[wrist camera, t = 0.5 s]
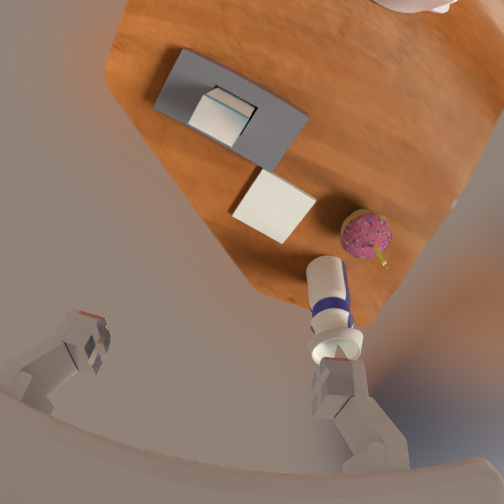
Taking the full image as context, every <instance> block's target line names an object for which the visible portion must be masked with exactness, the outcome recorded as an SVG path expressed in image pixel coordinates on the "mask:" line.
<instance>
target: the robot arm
mask: <svg viewBox="0 0 504 504" xmlns="http://www.w3.org/2000/svg"><path fill="white" fill-rule="evenodd" d="M373 1H375V2H376V3H378V4H379V5H381V6H383V7H385V8H388V9H390V10H393V11H397V12H402V13H415V12H420V11H430V12H434V13H439V14H442V13H445V12H447V11H448V9H449V6H450V4H451V3H453V2H456V1H457V0H373ZM106 324H107V323H106V320H105V318H104V317H100V316H97V315H93V314H90V313H87V312H83V311H80V310H77V309H73V308H70V309H69V310H67V312H66V313H65V315H64V317H63V318H62V320H61V321H60V323H59V325H58V326H57V328H56V329H55V331H54V333H53V334H52V336H51V338H50V337H46V338H45V339H43V340H41V341H39V342H38V343H36V344H34V345H33V346H31V347H29V348H27V349H26V350H24V351H22V352H20V353H19V354H17V355H15V356H14V357H12V358H10V359H8V360H7V361H5V363H4V364H3V366H2V368H1V370H0V504H504V480H503V478H502V476H501V475H500V474H499V472H498V471H497V470H496V469H495V468H494V467H493V466H492V465H491V464H490V463H489V462H488V461H487V460H486V459H484V458H482V457H478V458H473V459H468V460H464V461H460V462H454V463H449V464H444V465H438V466H432V467H426V468H419V469H411V470H410V464H409V456H408V448H407V441H406V439H405V437H404V436H403V435H402V434H401V433H400V431H399V430H398V429H397V428H396V426H395V425H394V424H393V423H392V421H391V420H390V419H389V418H388V416H387V415H386V414H385V413H384V411H383V410H382V409H381V408H380V407H379V405H378V404H377V403H376V402H375V400H374V399H373V398H371V397H369V396H368V389H367V381H366V375H365V368H364V363H363V361H362V360H354V359H346V358H333V357H323V358H322V359H321V361H320V367H319V368H317V369H316V371H315V374H314V376H313V380H312V393H313V394H314V395H315V398H314V400H313V401H312V417H316V418H328V419H334V422H335V423H336V425H337V427H338V429H339V430H340V432H341V434H342V435H343V437H344V439H345V440H346V442H347V444H348V445H349V447H350V449H351V450H352V452H353V454H354V455H355V456H353V457H352V458H351V459H350V460H348V461H347V462H346V463H345V464H344V465H343V474H295V473H279V472H267V471H257V470H248V469H240V468H233V467H226V466H220V465H214V464H208V463H202V462H197V461H192V460H187V459H183V458H178V457H174V456H170V455H165V454H161V453H157V452H153V451H150V450H146V449H142V448H139V447H135V446H132V445H128V444H125V443H122V442H119V441H116V440H112V439H110V438H106V437H104V436H101V435H98V434H95V433H93V432H90V431H87V430H85V429H82V428H79V427H77V426H74V425H72V424H69V423H67V422H64V421H61V420H60V419H57V418H55V417H53V416H51V413H52V411H53V409H54V407H53V404H52V403H51V402H50V400H49V399H48V398H47V395H49V394H50V393H51V392H52V391H54V390H55V389H56V388H58V387H59V386H60V385H61V384H63V383H64V382H65V381H66V380H68V379H69V378H70V377H72V376H73V375H74V374H75V373H77V372H78V370H79V371H82V372H85V373H88V374H92V375H95V376H96V375H97V373H98V370H99V368H100V366H101V364H102V360H101V357H102V356H103V355H105V354H106V353H107V351H108V349H109V345H110V333H109V331H108V330H107V329H106V328H105V326H106Z"/></svg>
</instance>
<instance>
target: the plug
mask: <svg viewBox="0 0 504 504" xmlns="http://www.w3.org/2000/svg"><path fill="white" fill-rule="evenodd" d="M255 107H256V106H254V105H252V104H251V103H249V102H247V101H245V100H244V99H242V98H240V97H238V96H236V95H234V94H233V93H231V92H229V91H227V90H225V89H223V88H221V87H218V88H216V89H214V90H212V91H210V92H208V93H206V94H203V96H202V98H201V99H200V101H199V103H198V105H197V107H196V109H195V111H194V112H193V114H192V116H191V118H190V120H189V122H188V124H189V125H191V126H193V127H195V128H197V129H199V130H200V131H202V132H204V133H206V134H208V135H210V136H212V137H213V138H215V139H217V140H219V141H221V142H223V143H224V144H226V145H228V146H230V147H232V146H233V145H234V143H235V141H236V140H237V138H238V136H239V135H240V133H241V131H242V130H243V128H244V127H245V125H246V123H247V122H248V120H249V118H250V116H251V114H252V112H253V110H254V109H255Z"/></svg>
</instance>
